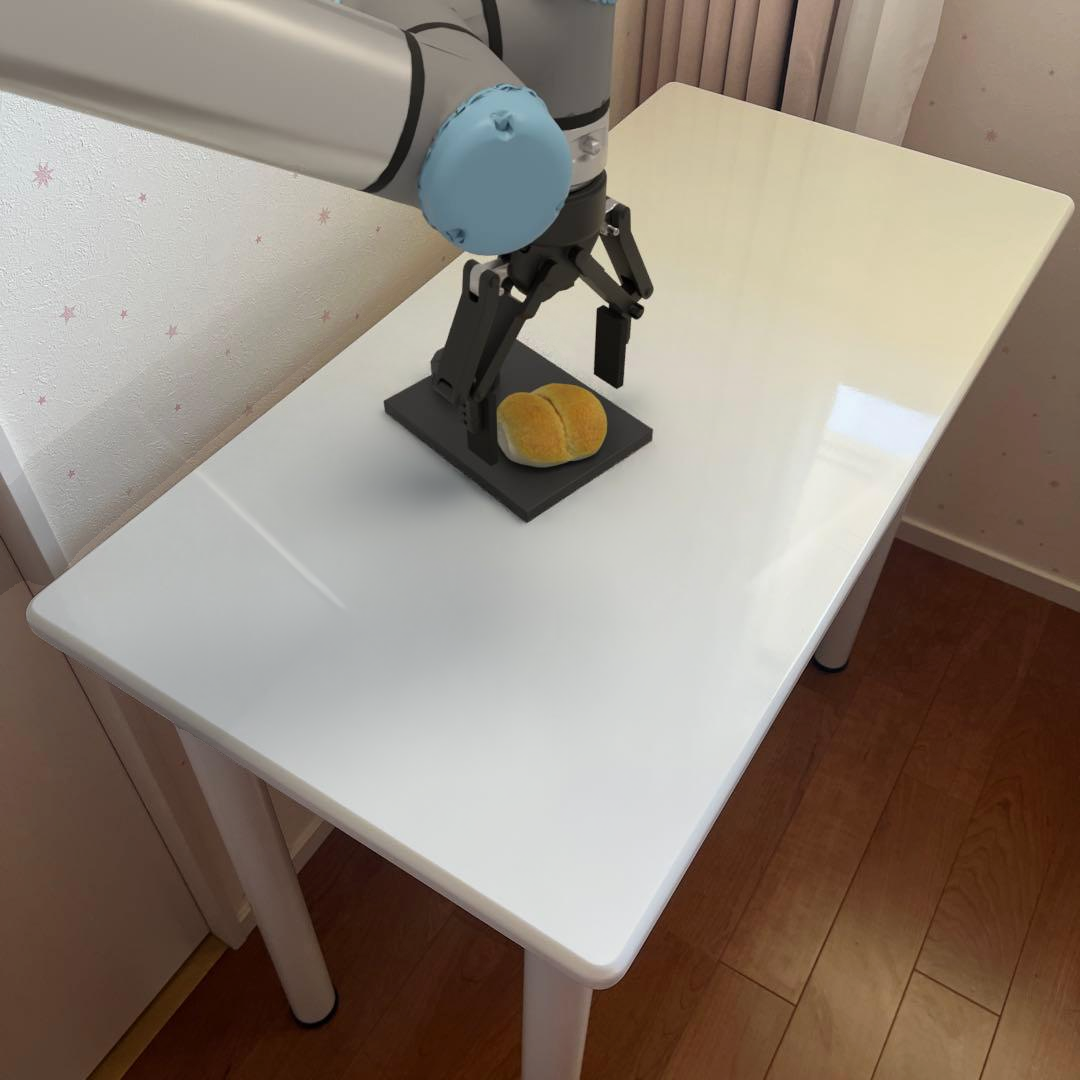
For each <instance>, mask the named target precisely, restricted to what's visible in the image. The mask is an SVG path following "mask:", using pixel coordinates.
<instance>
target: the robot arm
mask: <svg viewBox="0 0 1080 1080" xmlns="http://www.w3.org/2000/svg"><path fill="white" fill-rule="evenodd" d="M618 2H619V0H0V91H1V92H5V93H8V94H11V95H14V96H18V97H22V98H25V99H29V100H33V101H36V102H40V103H43V104H47V105H51V106H55V107H58V108H61V109H65V110H68V111H73V112H76V113H79V114H83V115H87V116H91V117H94V118H97V119H100V120H104V121H107V122H112V123H115V124H119V125H122V126H126V127H129V128H133V129H136V130H140V131H144V132H148V133H151V134H154V135H158V136H162V137H166V138H168V139H171V140H172V139H173V140H176V141H180V142H183V143H187V144H190V145H194V146H197V147H201V148H204V149H208V150H212V151H215V152H218V153H219V152H220V153H222V154H227V155H230V156H232V157H233V156H234V157H237V158H241V159H245V160H248V161H251V162H254V163H259V164H262V165H265V166H269V167H273V168H276V169H281V170H283V171H287V172H291V173H294V174H298V175H302V176H305V177H308V178H312V179H316V180H320V181H322V182H327V183H330V184H334V185H337V186H341V187H344V188H348V189H350V190H351V189H352V190H356V191H358V192H363V193H365V194H370V195H372V196H374V197H375V196H376V197H379V198H382V199H385V200H388V201H392V202H394V203H398V204H401V205H402V204H403V205H406V206H409V207H413V208H415V209H418V210H419V211H421V214H422V217H423V219H424V220H425V221H426V223H427V225H429V227H430V228H431V229H434V230H435V231H437V232H438V233H439V234H440V235H441V236H442V237H443V238H444V239H445V240H447V241H448V242H449V243H450V244H451V245H453V246H454V247H456V248H457V249H460V250H461V251H463V252H466V253H468V254H471V255H475V256H483V257H492V256H497V257H496V258H495V259H493V260H490V261H487V262H485V263H481V262H479V261H477V260H476V259H474V258H470V259H468V260H467V261H465V262H464V264H463V268H462V281H461V294H460V297H459V300H458V304H457V307H456V310H455V313H454V315H453V319H452V321H451V326H450V328H449V332H448V335H447V336H446V337H447V338H446V341H445V344H444V346H443V347H444V350H443V353H442V356H441V359H440V363H439V366H438V369H437V372H436V375H435V378H434V381H433V389H434V390H436V391H437V392H438V393H440V394H441V395H442V396H444V397H445V398H446V399H448V400H449V401H450V402H452V403H453V404H455V405H456V406H458V407H459V421H460V423H461V425H462V426H464V427H465V428H466V429H467V440H468V449H469V450H470V451H472V452H473V453H474V454H475V455H477V456H478V457H479V458H481V459H482V460H483V461H485V462H486V463H487V464H489V465H490V466H492V465H494V464H496V463H497V462H498V435H497V407H496V395H495V394H494V393H492V392H491V391H490V390H489V389H490V387H491V385H492V383H493V381H494V380H495V378H496V376H497V374H498V372H499V370H500V368H501V366H502V364H503V363H504V361H505V359H506V357H507V355H508V353H509V351H510V349H511V347H512V346H513V344H514V342H515V340H516V339H517V338H518V337H519V335H520V332H521V331H522V329H523V327H524V325H525V323H526V321H527V320H531V319H533V318H534V317H535V316H536V314H537V312H538V311H539V309H540V307H541V305H542V303H545V302H547V301H548V300H551V299H552V298H554V296H555V295H557V294H558V293H559V292H563V291H567V290H569V289H571V288H573V287H574V286H575V282H576V281H577V280H578V279H580V280H581V281H582V282H583V283H585V285H587V286H588V287H589V288H590V290H592V291H593V292H594V293H595V294H596V295H598V297H600V298H601V299H602V300H603V301H604V302H605V303H607V304H608V306H607V305H605V304H601V305H600V306H598V307H597V308H596V312H595V313H596V315H595V335H594V338H595V339H594V354H593V355H594V356H593V357H594V358H593V375H594V376H595V377H597V378H598V379H600V380H602V381H603V382H605V383H607V384H608V385H609V386H611V387H612V388H614V389H616V390H619V389H620V388H622V387H624V381H625V369H626V368H625V367H626V355H627V354H626V352H627V345H628V344H629V342H630V339H631V330H632V319H633V320H635V321H637V320H640V319H641V318H642V317H643V315H644V313H645V306H644V305H642V304H641V303H639V301H641V300H642V299H643V300H648V299H650V298H651V296H652V295H653V293H654V290H655V289H654V288H655V287H654V284H653V282H652V280H651V277H650V275H649V272H648V269H647V267H646V265H645V263H644V262H645V261H644V260H643V257H642V255H641V253H640V250H639V248H638V244H637V243H636V240H635V238H634V235H633V233H632V221H631V220H632V219H631V216H632V213H631V208H630V207H629V206H627V205H626V204H624V203H622V202H620V201H617V200H616V199H614V198H612V197H611V196H609V195H607V188H608V187H607V185H608V174H607V171H606V169H605V168H606V167H607V165H608V164H607V163H608V162H607V161H608V155H609V154H608V150H609V131H610V129H609V127H610V109H611V92H612V91H611V89H612V87H611V86H612V74H613V73H612V72H613V57H614V56H613V54H614V41H615V40H614V37H615V21H616V8H617V7H616V6H617V3H618ZM599 238H600V240H601V242H602V245H603V247H604V249H605V251H606V254H607V256H608V259H609V260H610V263H611V265H612V268H613V269H614V272H615V275H616V276H617V278H618V280H619V283H620V284H619V283H618V282H617V281H616V280H614V278H612V276H611V275H610V274H609V273H608V272H606V271H605V270H606V269H605V267H603V266H602V265H601V264H600V263H599V262H598V261H597V260H596V259H595V258H594V257H593V255H592V254H591V253H592V252H593V250H594V248H595V245H596V244H597V241H598V239H599ZM513 288H515V289H516V290H517V291H518V292H519V293H521V294H522V295H524V296H525V298H524V300H523V301H522V300H520V299H518V298H517V297H515V296H514V295H512V290H513ZM474 376H475V378H476V380H474Z"/></svg>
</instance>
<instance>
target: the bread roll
mask: <svg viewBox="0 0 1080 1080" xmlns="http://www.w3.org/2000/svg"><path fill="white" fill-rule="evenodd" d="M606 432H607V418H606V414H605V411H604V409H603V407H602V405H601V403H600V401H599V400H598V399H597V398H596V397H595V396H594V395H593V394H592V393H591V392H589V391H588V390H586V389H584V388H581V387H579V386H575V385H569V384H555V383H551V384H549V385H545V386H542V387H540V388H538V389H536V390H534V391H533V392H531V393H525V392H520V393H514V394H512V395H509V396H508V397H507V398H506V399H504V400H503V402H502V403H501V404H500V405H499V406H498V408H497V435H498V444H499V446H500V447H501V449H502V451H503V452H504V453H505V455H506V456H507V457H508V458H509V459H510V460H512V461H514V462H516V463H519V464H523V465H528V466H534V467H550V466H556V465H559V464H563V463H566V462H568V461H577V460H581V459H584V458H587V457H589V456H591V455H593V454H595V453H596V452H597V451H598V450H599V448H600V447H601V445H602V443H603V441H604V439H605V436H606Z"/></svg>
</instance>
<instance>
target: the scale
mask: <svg viewBox="0 0 1080 1080" xmlns="http://www.w3.org/2000/svg"><path fill="white" fill-rule="evenodd" d="M444 347H445V346H443V347H441V348H439V349H437V350H436V351H435V353H434V354H433V356H432V357H431V360H430V361H429V362H430V363H429V364H430V373H431V374H429V375H428V376H425V377H424V378H422V379H420V380H419V381H416V382H415V383H414V384H412V385H409V386H408V387H406V388H404V389H402V390H401V391H398V392H397V393H395V394H393V395H391V396H389V397H388V398H386V399H384V400H383V408H384V412H385V414H387V415H389V416H390V417H391V418H393V419H394V420H395V421H396V422H397V423H399V424H400V425H402V426H403V427H404V428H405V429H407V430H408V431H409V432H410V433H411V434H413V435H414V436H416V437H417V438H418V439H420V440H421V441H422V442H423V443H424V444H426V445H427V446H428V447H430V448H431V449H432V450H433V451H435V452H436V453H437V454H438V455H440V456H441V457H443V458H444V459H445V460H446V461H448V462H449V463H450V464H452V465H453V466H454V467H455V468H456V469H458V470H459V471H460V472H461V473H463V474H464V475H466V476H467V477H468V478H469V479H471V480H472V481H473V482H474V483H476V484H477V485H478V486H480V488H482V489H483V490H484V491H486V492H487V493H488V494H490V495H491V496H492V497H494V498H495V499H496V500H498V502H500V503H501V504H503V506H505V507H506V508H507V509H509V510H510V511H511V512H512V513H514V514H515V515H516V516H518V517H519V518H521V519H522V520H523V521H524V522H525V523H529V522H530V521H532V520H533V519H535V518H536V517H538V516H540V515H541V514H543V513H544V512H546V511H547V510H549V509H550V508H552V507H553V506H554V505H556V504H558V503H559V502H560V501H562V500H564V499H565V498H567V497H568V496H570V495H571V494H573V493H575V492H576V491H578V489H581V488H582V487H583V486H585V485H587V484H588V483H589V482H591V481H593V480H594V479H595V478H597V477H599V476H600V475H602V474H603V473H605V472H606V471H607V470H609V469H611V468H612V467H614V466H615V465H617V464H618V463H620V462H621V461H623V460H624V459H626V458H627V457H629V456H630V455H632V454H633V453H634V452H636V451H638V450H639V449H641V448H643V447H644V446H646V445H647V444H649V443H650V442H651V441H653V437H654V429H653V428H652V427H650V426H649V425H647V424H646V423H644V422H643V421H642V420H640V419H638V418H637V417H635V416H633V415H632V414H630V413H629V412H627V411H626V410H625V409H623V408H621V407H620V406H618V405H617V404H615V403H614V402H612V401H611V400H609V399H608V398H607V397H605V396H603V395H602V394H601V393H599V392H597V391H596V390H595V389H593V388H591V387H590V386H588V385H587V384H586V383H583V381H581V380H579V379H577V378H576V377H575V376H573V375H572V374H570V373H569V372H567V371H566V370H564V369H562V368H561V367H560V366H558V365H557V364H555V363H554V362H553V361H551V360H549V359H548V358H546V357H545V356H543V355H542V354H540V353H539V352H537V351H535V350H534V349H533V348H531V347H529V345H526V344H525V343H523V342H522V341H521V340H519V339H517V338H516V340H515V342H514V344H513V346H512V347H511V349H510V351H509V353H508V355H507V357H506V359H505V361H504V363H503V364H502V366H501V368H500V370H499V372H498V374H497V376H496V378H495V380H494V381H493V383H492V385H491V387H490V389H489V390H490V391H491V392H492V393H494V394H495V395H496V407H497V408H498V406H499V405H500V404H501V403H502V402H503V400H504V399H506V398H507V397H508V396H509V395H512V394H514V393H520V392H525V393H531V392H533V391H534V390H536V389H538V388H540V387H542V386H545V385H549V384H551V383H555V384H569V385H575V386H579V387H581V388H584V389H586V390H588V391H589V392H591V393H592V394H593V395H594V396H595V397H596V398H597V399H598V400H599V401H600V403H601V405H602V407H603V409H604V411H605V414H606V418H607V432H606V436H605V439H604V441H603V443H602V445H601V447H600V448H599V450H598V451H597V452H596V453H595V454H593V455H591V456H589V457H587V458H584V459H581V460H577V461H568V462H566V463H563V464H559V465H556V466H550V467H534V466H528V465H523V464H519V463H516V462H514V461H512V460H510V459H509V458H508V457H507V456H506V455H505V453H504V452H503V451H502V449H501V447H500V446H499V444H498V462H497V463H496V464H494V465H492V466H490V465H489V464H487V463H486V462H485V461H483V460H482V459H481V458H479V457H478V456H477V455H475V454H474V453H473V452H472V451H470V450H469V449H468V440H467V429H466V428H465V427H464V426H462V425H461V423H460V421H459V407H458V406H456V405H455V404H453V403H452V402H450V401H449V400H448V399H446V398H445V397H444V396H442V395H441V394H440V393H438V392H437V391H436V390H434V389H433V381H434V378H435V375H436V372H437V369H438V366H439V363H440V359H441V356H442V353H443V350H444ZM474 380H476V378H475V376H474Z"/></svg>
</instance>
